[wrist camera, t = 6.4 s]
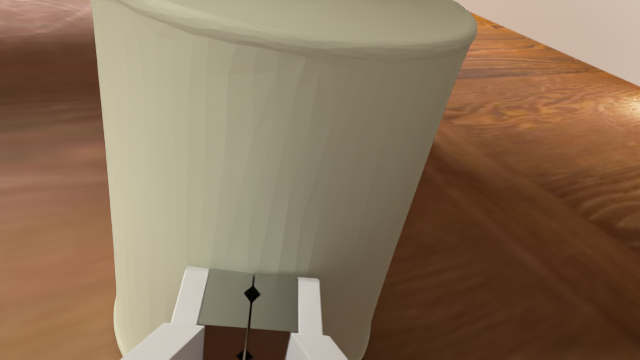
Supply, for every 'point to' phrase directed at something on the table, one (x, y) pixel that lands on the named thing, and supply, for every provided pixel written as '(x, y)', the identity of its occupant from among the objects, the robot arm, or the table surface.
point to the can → (268, 143)
